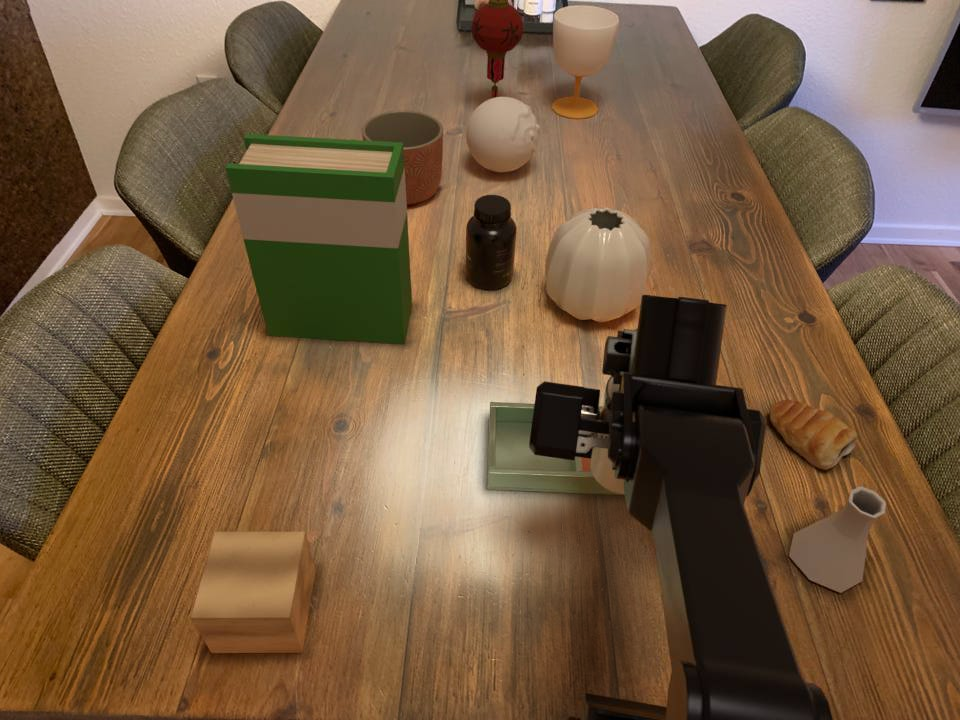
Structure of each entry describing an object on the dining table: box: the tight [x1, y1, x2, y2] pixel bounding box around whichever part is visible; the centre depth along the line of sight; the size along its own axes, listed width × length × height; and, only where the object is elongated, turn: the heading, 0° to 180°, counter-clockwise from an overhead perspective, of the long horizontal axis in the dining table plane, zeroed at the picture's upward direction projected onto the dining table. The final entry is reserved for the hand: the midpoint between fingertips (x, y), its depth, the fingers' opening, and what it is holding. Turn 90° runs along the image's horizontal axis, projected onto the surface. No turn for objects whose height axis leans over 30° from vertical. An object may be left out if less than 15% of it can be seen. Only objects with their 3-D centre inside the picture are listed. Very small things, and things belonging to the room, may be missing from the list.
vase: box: [544, 206, 652, 323], centre depth 93 cm, size 14×14×13 cm
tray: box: [486, 401, 625, 496], centre depth 78 cm, size 10×19×3 cm, turn 88°
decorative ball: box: [465, 96, 541, 173], centre depth 118 cm, size 12×12×12 cm
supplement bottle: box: [464, 194, 518, 291], centre depth 97 cm, size 7×7×12 cm
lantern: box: [470, 0, 524, 99], centre depth 127 cm, size 10×10×30 cm
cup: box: [551, 4, 620, 120], centre depth 132 cm, size 12×12×17 cm
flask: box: [788, 485, 887, 594], centre depth 67 cm, size 7×7×10 cm
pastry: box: [769, 399, 858, 471], centre depth 80 cm, size 9×7×4 cm
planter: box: [361, 109, 444, 205], centre depth 112 cm, size 12×12×11 cm
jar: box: [590, 375, 624, 494], centre depth 66 cm, size 7×7×11 cm
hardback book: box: [225, 133, 413, 345], centre depth 85 cm, size 18×7×24 cm, turn 86°
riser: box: [190, 531, 317, 654], centre depth 63 cm, size 8×8×7 cm
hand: (632, 424), depth 68 cm, fingers closed on jar, 6 cm apart
